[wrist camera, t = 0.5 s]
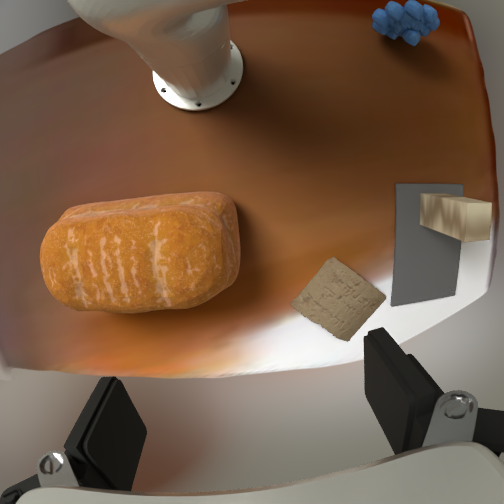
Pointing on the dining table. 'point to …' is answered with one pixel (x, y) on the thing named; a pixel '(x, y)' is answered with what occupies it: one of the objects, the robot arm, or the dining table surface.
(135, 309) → the bread
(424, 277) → the rubber mat
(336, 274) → the clay tablet
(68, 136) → the dining table surface
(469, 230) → the birch block
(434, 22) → the grapes
